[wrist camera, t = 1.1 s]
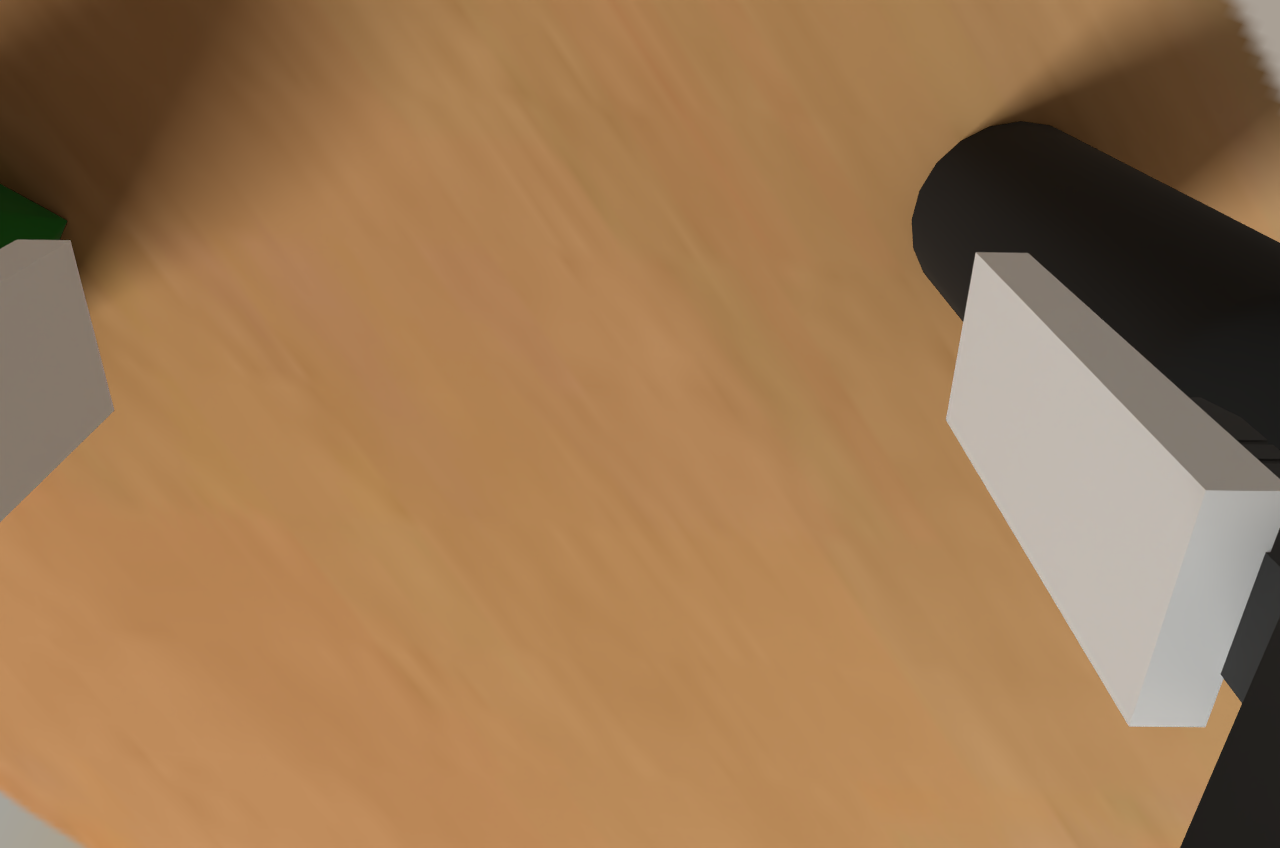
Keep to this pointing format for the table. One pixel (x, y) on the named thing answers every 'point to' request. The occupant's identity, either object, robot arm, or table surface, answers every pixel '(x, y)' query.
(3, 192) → the milk carton
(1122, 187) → the wine bottle
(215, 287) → the table surface
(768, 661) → the table surface
